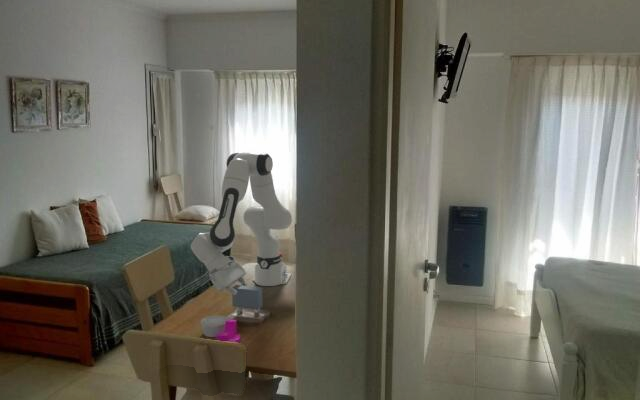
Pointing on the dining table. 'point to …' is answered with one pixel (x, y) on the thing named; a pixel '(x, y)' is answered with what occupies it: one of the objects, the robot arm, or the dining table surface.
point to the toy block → (230, 332)
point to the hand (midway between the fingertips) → (241, 290)
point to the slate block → (247, 297)
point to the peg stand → (250, 316)
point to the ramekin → (213, 325)
